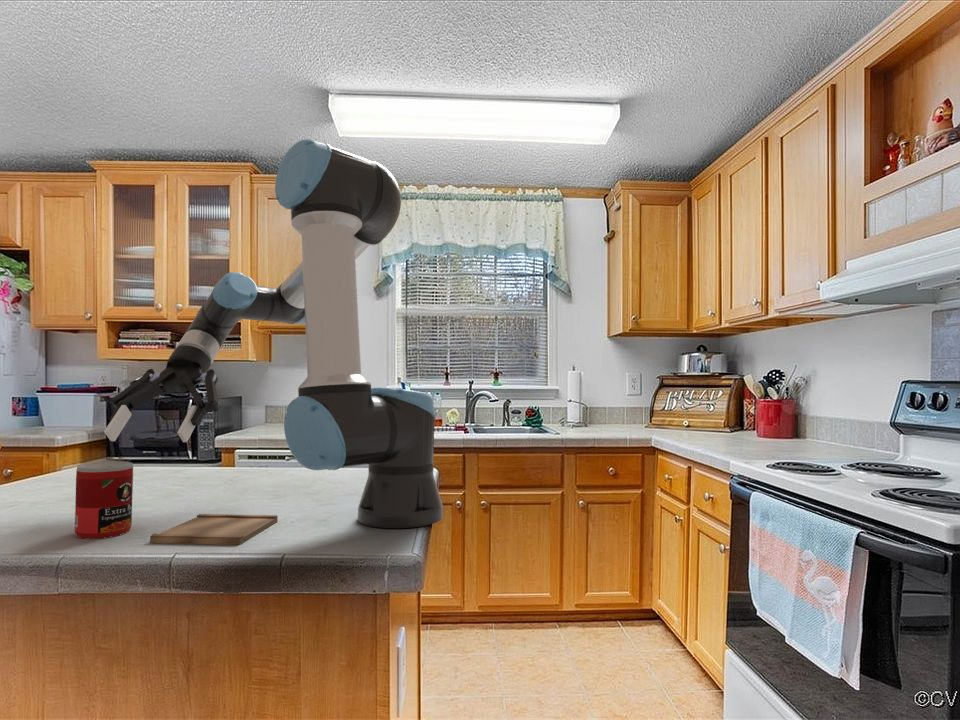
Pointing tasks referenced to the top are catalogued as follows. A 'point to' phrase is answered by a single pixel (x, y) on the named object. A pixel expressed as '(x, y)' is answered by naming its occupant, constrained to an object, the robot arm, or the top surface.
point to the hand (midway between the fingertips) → (145, 437)
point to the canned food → (103, 499)
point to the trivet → (216, 529)
